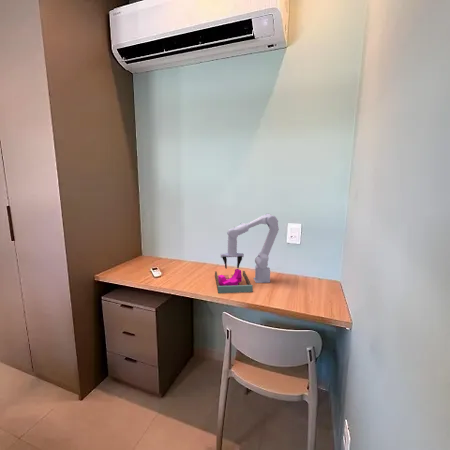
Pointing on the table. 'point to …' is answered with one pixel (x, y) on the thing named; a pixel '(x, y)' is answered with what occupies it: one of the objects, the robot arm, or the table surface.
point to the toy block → (232, 281)
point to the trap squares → (228, 276)
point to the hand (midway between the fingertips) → (231, 267)
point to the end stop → (235, 289)
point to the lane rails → (243, 276)
